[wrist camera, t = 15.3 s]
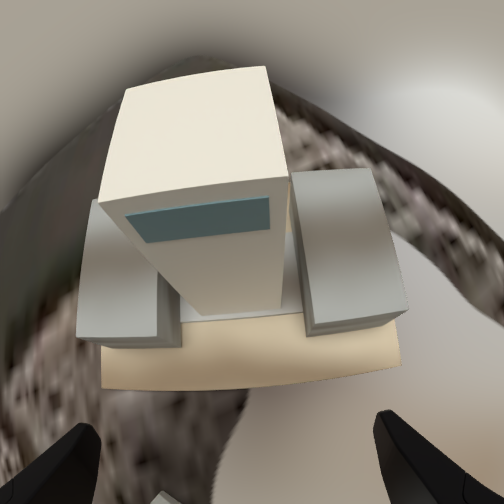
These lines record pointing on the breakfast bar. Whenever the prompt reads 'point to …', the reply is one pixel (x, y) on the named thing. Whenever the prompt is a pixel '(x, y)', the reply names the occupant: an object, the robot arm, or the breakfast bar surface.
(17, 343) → the breakfast bar surface
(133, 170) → the module block
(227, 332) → the rail board
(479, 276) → the breakfast bar surface
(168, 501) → the external hard drive
